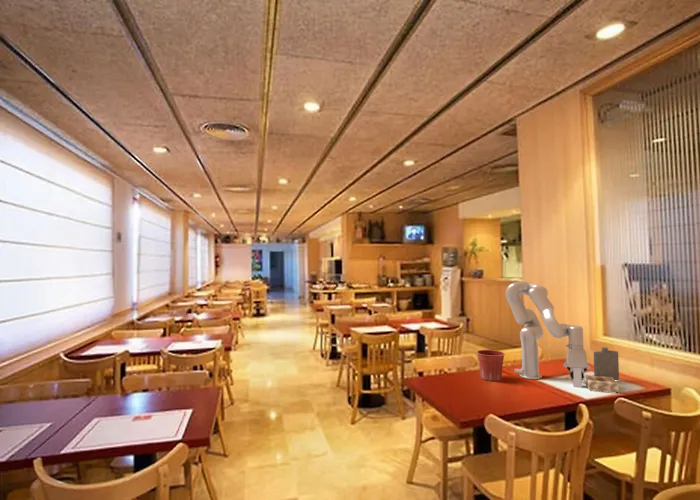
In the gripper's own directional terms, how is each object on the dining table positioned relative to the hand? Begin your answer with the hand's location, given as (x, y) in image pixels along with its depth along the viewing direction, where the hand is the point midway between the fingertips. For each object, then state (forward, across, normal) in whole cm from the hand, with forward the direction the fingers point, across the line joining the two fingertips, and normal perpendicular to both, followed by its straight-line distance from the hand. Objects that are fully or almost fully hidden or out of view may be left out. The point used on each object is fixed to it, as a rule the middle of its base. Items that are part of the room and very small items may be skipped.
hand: (577, 378), depth 230 cm
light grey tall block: (+4, 0, 0) cm, 4 cm away
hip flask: (+5, +18, +17) cm, 25 cm away
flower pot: (+5, -47, 0) cm, 47 cm away
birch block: (+4, +12, 0) cm, 13 cm away
